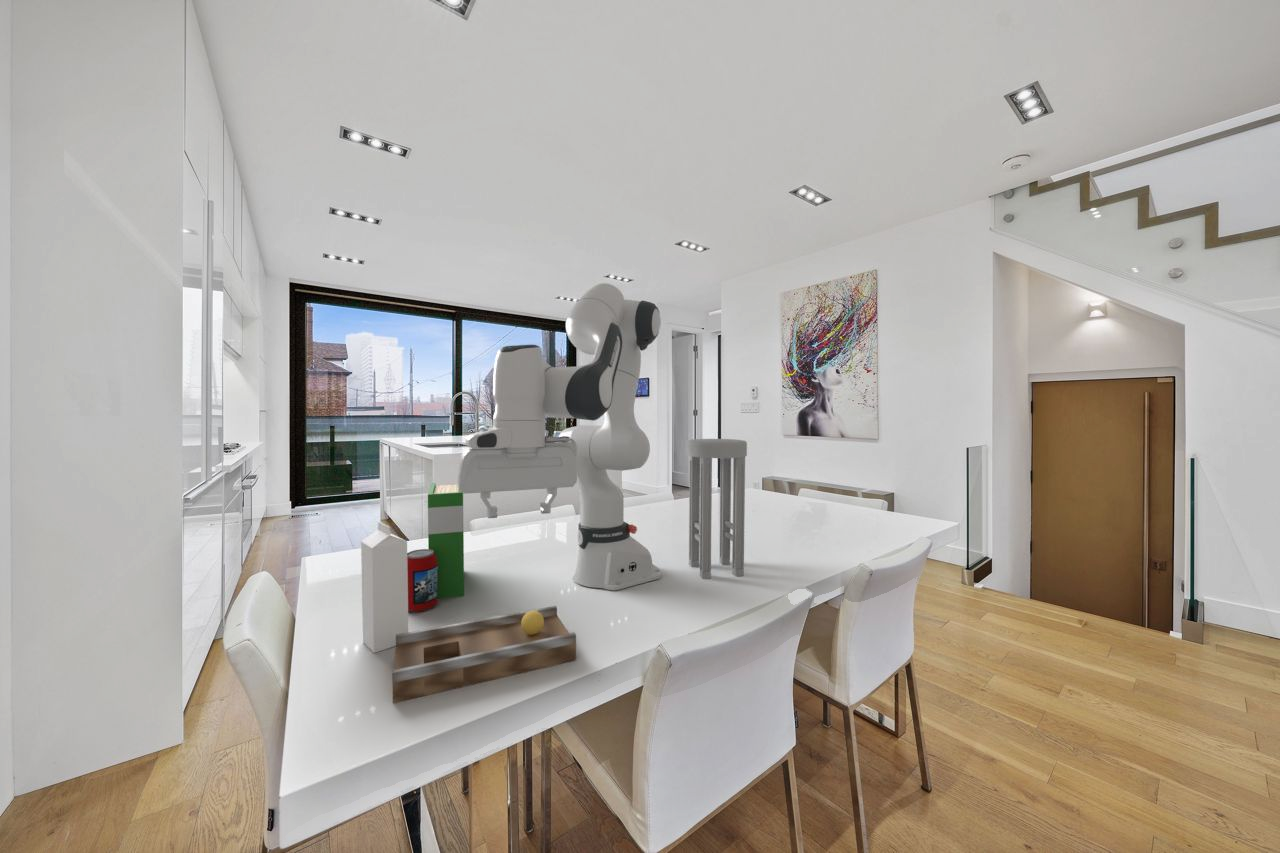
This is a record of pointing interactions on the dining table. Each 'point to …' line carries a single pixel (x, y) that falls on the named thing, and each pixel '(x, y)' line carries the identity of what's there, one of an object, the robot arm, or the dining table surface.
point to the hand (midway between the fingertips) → (519, 515)
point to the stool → (703, 502)
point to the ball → (532, 622)
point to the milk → (384, 588)
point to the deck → (476, 653)
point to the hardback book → (447, 538)
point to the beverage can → (422, 580)
